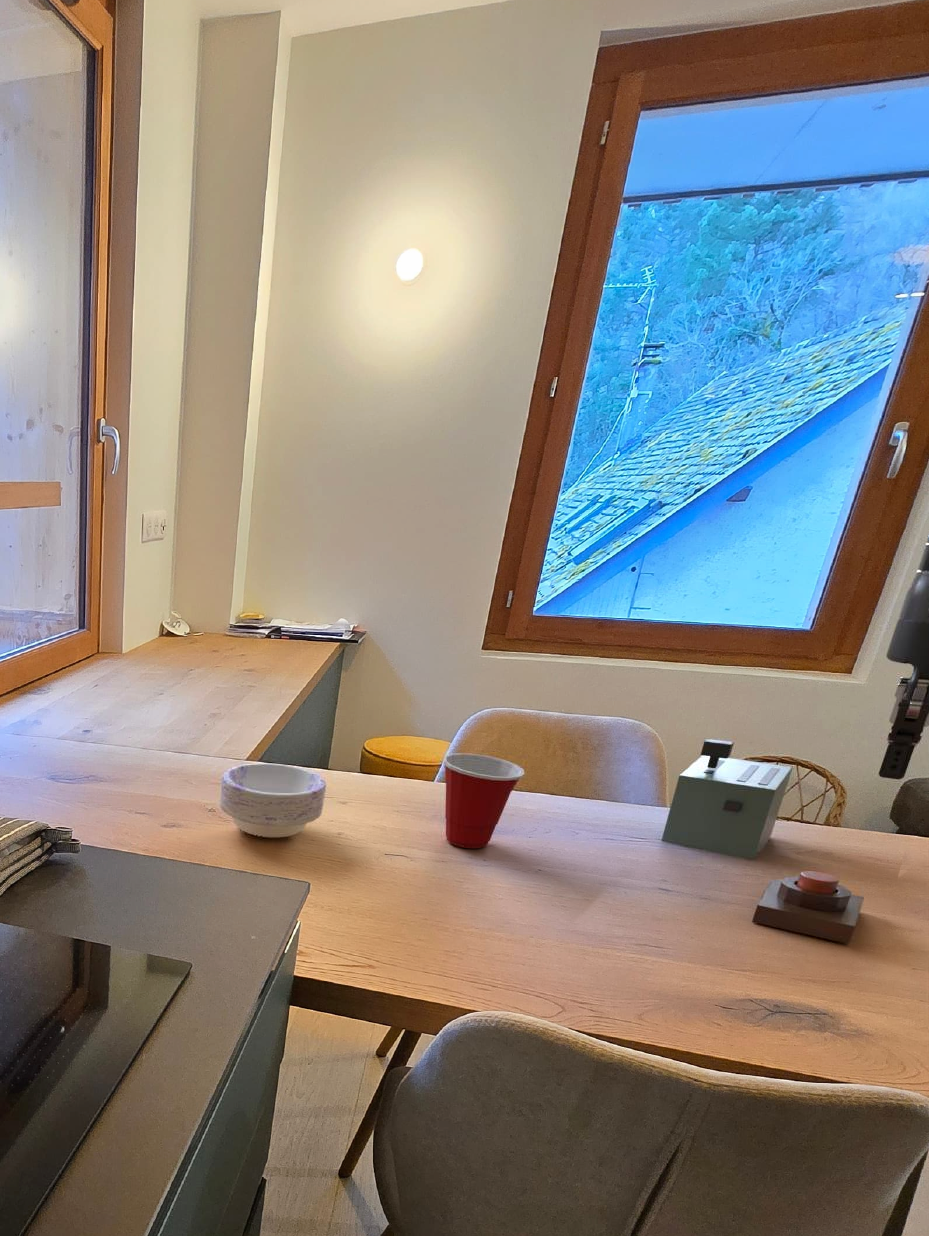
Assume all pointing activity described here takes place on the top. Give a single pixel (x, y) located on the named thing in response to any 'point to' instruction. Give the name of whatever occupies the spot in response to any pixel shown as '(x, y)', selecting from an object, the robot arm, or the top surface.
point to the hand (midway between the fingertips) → (890, 776)
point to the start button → (818, 882)
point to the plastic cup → (476, 796)
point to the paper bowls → (271, 798)
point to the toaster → (726, 806)
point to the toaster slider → (716, 751)
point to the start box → (809, 910)
